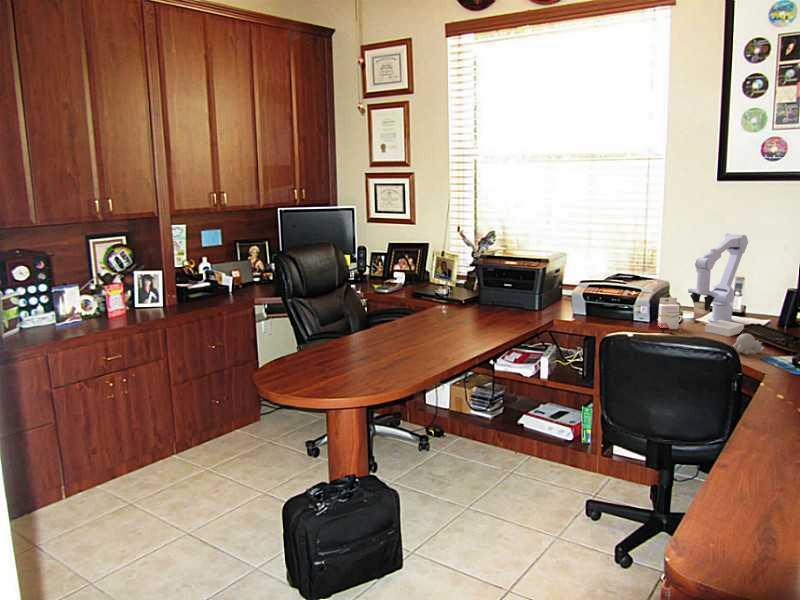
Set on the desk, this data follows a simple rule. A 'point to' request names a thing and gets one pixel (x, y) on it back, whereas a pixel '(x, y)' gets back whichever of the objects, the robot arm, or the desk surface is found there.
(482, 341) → the desk surface
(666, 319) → the ink cartridge box
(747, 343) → the round bodied animal figurine
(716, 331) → the grey box
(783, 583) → the desk surface
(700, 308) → the beech block
